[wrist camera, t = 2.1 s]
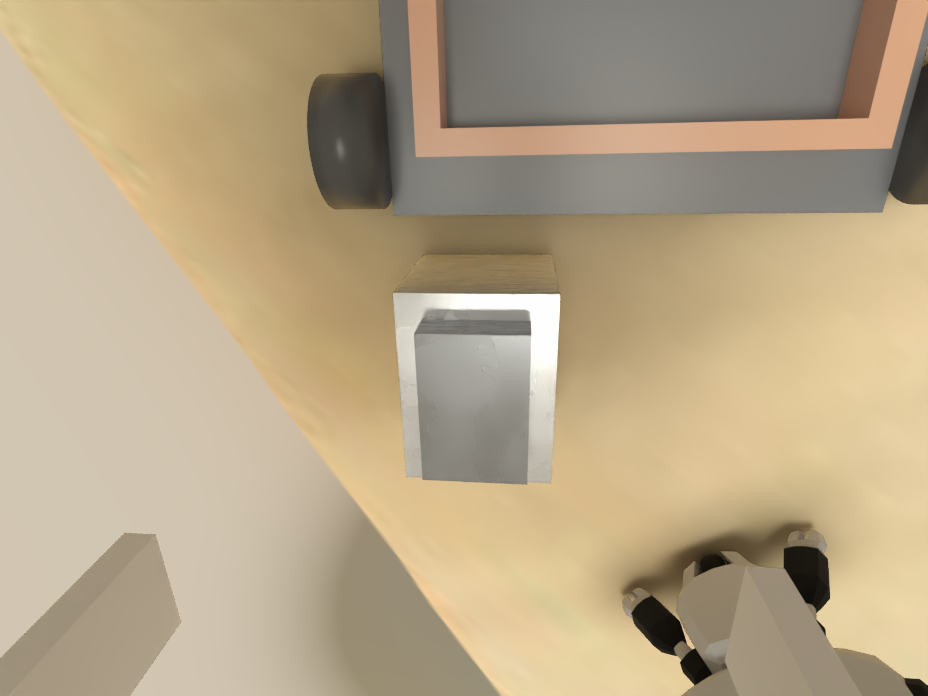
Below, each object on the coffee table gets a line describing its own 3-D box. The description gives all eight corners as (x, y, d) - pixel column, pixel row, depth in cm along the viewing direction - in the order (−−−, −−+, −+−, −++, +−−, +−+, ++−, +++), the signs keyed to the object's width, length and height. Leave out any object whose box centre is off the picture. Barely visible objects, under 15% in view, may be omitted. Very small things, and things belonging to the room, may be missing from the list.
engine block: (423, 254, 25) (382, 305, 18) (551, 254, 25) (563, 307, 17) (431, 403, 28) (398, 499, 21) (545, 406, 28) (552, 507, 20)
